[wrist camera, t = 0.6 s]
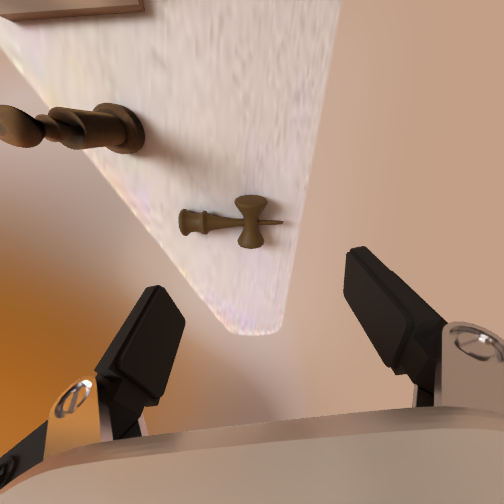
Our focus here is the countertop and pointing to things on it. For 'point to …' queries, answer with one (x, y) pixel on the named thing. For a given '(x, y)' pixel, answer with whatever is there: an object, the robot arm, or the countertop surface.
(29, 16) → the board
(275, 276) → the countertop surface
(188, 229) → the kendama
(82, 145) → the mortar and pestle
